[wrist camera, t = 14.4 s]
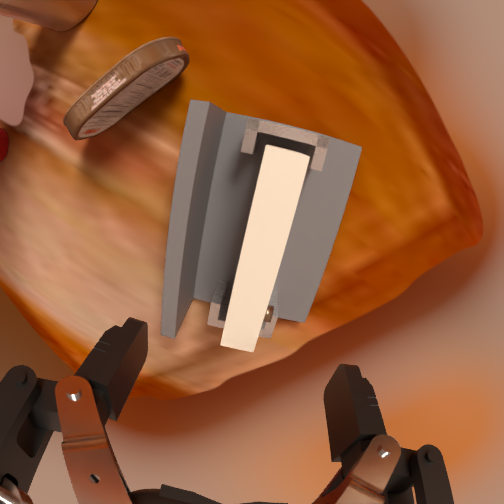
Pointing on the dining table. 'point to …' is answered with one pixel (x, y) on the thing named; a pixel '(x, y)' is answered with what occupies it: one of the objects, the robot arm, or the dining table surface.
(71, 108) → the tin
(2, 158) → the plastic cup
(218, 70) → the dining table surface
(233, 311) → the door
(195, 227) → the hinge bracket
